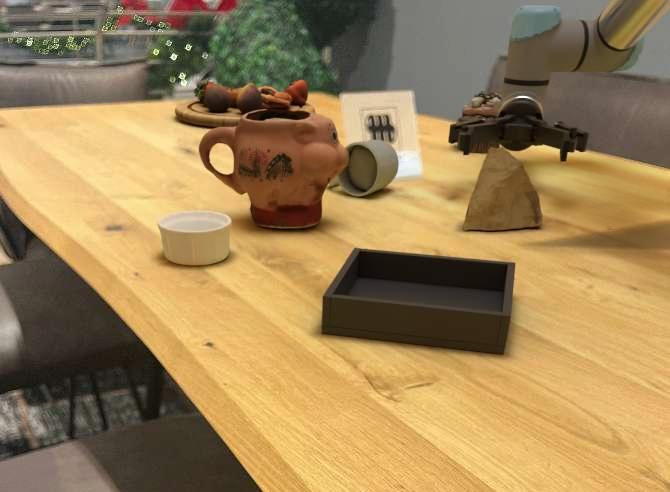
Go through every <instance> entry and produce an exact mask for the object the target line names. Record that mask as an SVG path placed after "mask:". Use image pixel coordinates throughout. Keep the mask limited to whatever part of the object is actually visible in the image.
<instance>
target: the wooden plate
mask: <svg viewBox="0 0 670 492" xmlns="http://www.w3.org/2000/svg"><path fill="white" fill-rule="evenodd" d="M210 80H211V78H207V79H205V80H203V81H200V82H198V81H197V82H196V83H195V87H196V88H194V90H193V93H192V94H194V97H196V99H191V100H186V101H183V102H181V103H179V104H177V105H176V106H175V109H174V114H175V116H176V117H177V118H178V119H179V120H180V121H183V122H185V123H189V124H193V125H197V126H198V125H199V126H204V127H205V126H206V127H215V128H217V127H236V126H237V125H238V124H239V121H240V118H241V116H242V115H244V114H246V113H249V112H252V111H256V110H263V109H275V110H293V111H310V112H313V113H316V109H315V107H314V105H312V104H310V103H308V102H307V101H308V98H309V91H308V90H309V89H308V88H309V87H308V84H307V82H306V81H305V80H303V79H297V80H295V81H291V83H289V84H288V86H287V87H285V88H284V89H283V91H281V92H279V91H278V90H276V89H275V88H274V87H272V86H269V85H264V86H261V87H257V86H256V85H255V83H254V82H249V83H248V84H246V85H244V86H243V87H236V88H235V87H234V88H233V87H229V86H223V85H221V84H220V83H218V82H215V81H210Z"/></svg>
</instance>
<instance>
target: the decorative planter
mask: <svg viewBox="0 0 670 492" xmlns="http://www.w3.org/2000/svg"><path fill="white" fill-rule="evenodd" d="M218 144H222V145H226V146H228V148H230V150H231V152H232V155H233V171H232V172H231V173H227V174H225V173H223V172H221V171H219V170H218V169H216V168H215V167H214V165H213V164H212V163H211V158H210V154H211V151H212V150H213V148H214V147H215V146H216V145H218ZM345 147H346V146H344V145H343V144H342V143H341V141H340V139H339V136H338V131H337V127H336V125H335V123H334V121H333V119H331V118H329V117H327V116H325V115H322V114H318V113H316V112H315V113H313V112H310V111H293V110H275V109H263V110H256V111H252V112H249V113H246V114H244V115H242V116H241V118H240V121H239V124H238V125H237V126H236V127H215V128H214V127H213V128H212V129H210V130H208V131H207V132H205V133H204V134H203V136H202V137H201V140H200V142H199V144H198V153H199V157H200V161H201V162H202V164H203V166H204V168H205V169H206V170H207V171H209V173H211V174H212V175H213V176H214V177H215V178H216V179H218V180H219V181H221V183H222V184H223V185H225V186H227V187H228V188H229V189H231V190H233V191H234V192H235V193H237V194H239V195H240V196H243V195H246V194H247V196H248V198H249V202H250V207H249V212H250V216H251V219H252V221H253V223H254V224H255V225H257V226H259V227H260V226H261V227H264V228H272V229H273V228H275V229H303V228H304V229H305V228H309V227H313V226H316V225H317V224H318V223H319V222H321V220H322V217H323V196H324V193H325V191H326V189H327V187H328V186H329V182H330V181H331V180H332V179H333V178H334V177H335V176H337V175H338V174H339V173H340V172H342V171H343V170H344V169H345V168H346V166H347V165H348V162H349V152H348V150H347V149H346V148H345Z"/></svg>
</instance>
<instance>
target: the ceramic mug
mask: <svg viewBox="0 0 670 492" xmlns="http://www.w3.org/2000/svg"><path fill="white" fill-rule="evenodd" d="M344 147H345V148H346V149H347V150H348V152H349V162H348V165H347V166H346V168H345V169H344V170H343V171H342V172H340V173H339V174H338V175H337V176H335V177H334V178H333V179H332V180H331V181H330V182H329V184H328V186H329V187H335V186H338V185H339V186H340V188H341V189H342V190H343V191H344V192H345V193H346V194H348V195H349V196H352V197H357V198H358V197H365V196H367V195H370V194H372V193H374V192H377V191H379V190H382V189H384V188H386V187H388V186H389V185H390V184H391V183H392V182H393V181H394V179H395V178H396V177H397V174H398V171H399V167H400V164H399V157H398V154H397V152H396V149H395V148H394V147H393V146H392V145H391V143H389V142H387V141H385V140H381V139H370V140H363V141H362V140H361V141H354V142H351V143H348V144H347V145H346V146H344Z"/></svg>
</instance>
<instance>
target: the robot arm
mask: <svg viewBox="0 0 670 492" xmlns="http://www.w3.org/2000/svg"><path fill="white" fill-rule="evenodd" d="M669 10H670V0H611V1H610V2H609V4H608V5H607V6H606V8H605V9H603V10H602V12H601V13H600V14H599V15H598V16H597V17H596V18H594V19H570V18H569V19H567V18H566V19H565V18H562V12H563V11H562V8H561V7H559V6H556V5H538V4H537V5H535V4H533V5H531V4H530V5H529V4H528V5H527V4H526V5H521V6H520V7H518V8H517V9H516V10H515V13H514V17H513V20H512V24H511V28H510V29H511V30H510V35H509V38H508V47H507V56H506V64H505V71H504V77H503V82H502V88H501V94H500V95H501V100H500V106H499V111H498V115H497V118H494V119H493V120H492V122H490V123H485V120H486V119H483V117H481V116H478V117H476V118H475V119H472V120H468V121H464V122H459V123H456V122H455V123H451V124H449V130H448V131H449V132H448V141H447V142H448V144H452V145H453V144H457V142H458V145H459V149H458V150H460V151H463V150H464V151H463V153H462V154H463V156H469V155H470V153H471V152H470V150H471V147H472V144H474V143H481V142H488V141H490V142H492V143H496V144H497V143H500V146H501V147H502V148H503V149H505V150H507V151H509V152H522V151H526V150H527V149H529V148H531V147H532V146H533V147H540V146H546V147H551V148H553V149H557V150H559V160H560V162H563V163H564V162H565V163H566V162H567V159H568V155H569V153H572V154H573V153H575V152H576V151H577V152H579V153H585V152H586V150H587V146H588V141H589V138H590V132H588V131H585V130H582V129H580V128H579V127H578V126H575V127H573V126H571V125H568V124H567V123H566V122H565V121H562V120H559V121H556V122H554V124H553V126H551V125H549V124H548V121H546V120H544V112H545V105H546V99H547V94H548V89H549V85H550V78H551V75H552V73H605V74H609V73H610V74H611V73H614V72H615V73H616V72H624V71H628V70H630V69H631V68H633V67H634V66H635V65H637V63H638V61H639V57H640V55H641V54H642V53H643V51H644V47H645V46H644V45H645V39H646V33H648V32H649V31H650V30H651V28H653V26H655V25H656V23H657V22H658V21H660V19H662V17H663V16H664V15H665V14H666V13H667V12H668V11H669Z"/></svg>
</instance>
